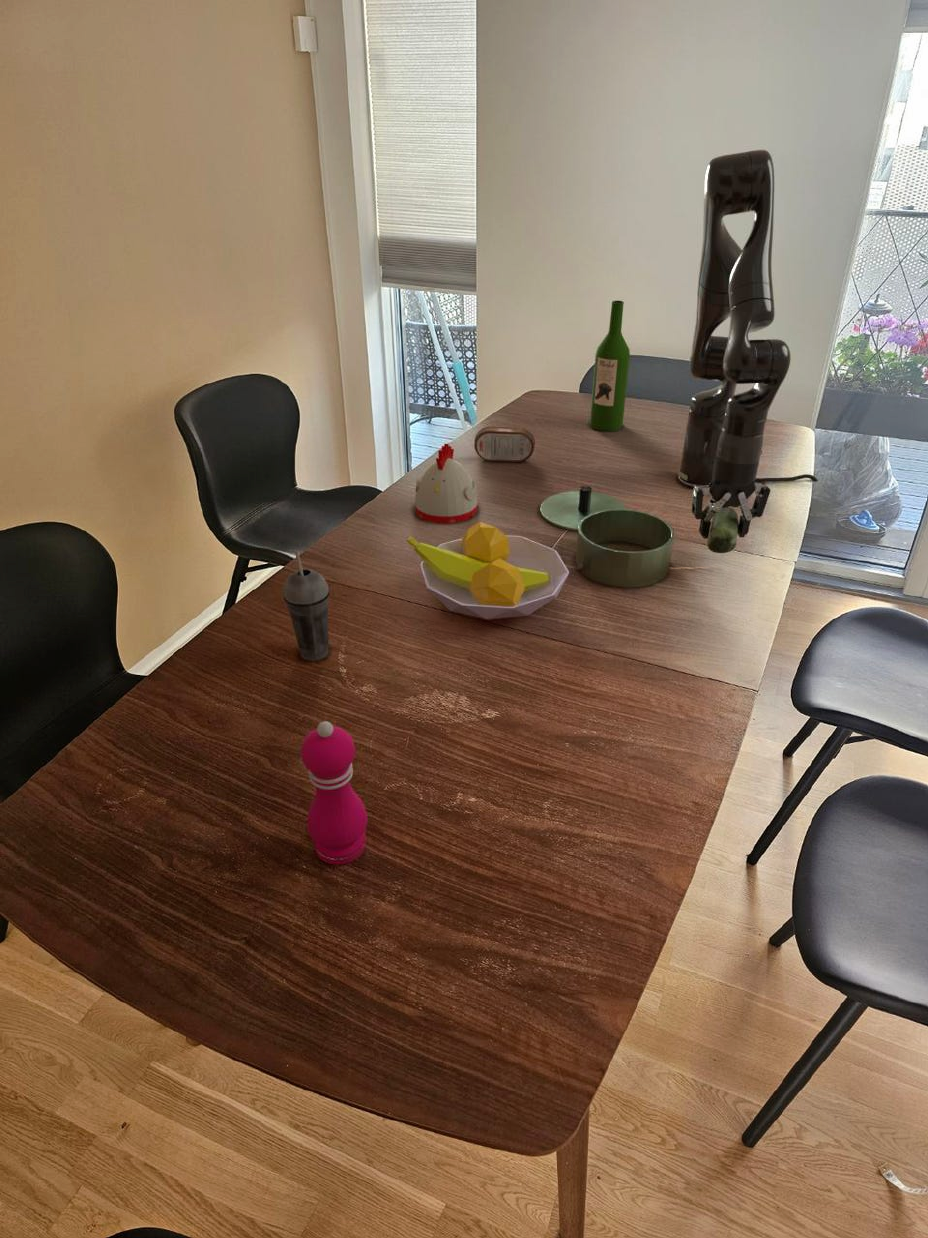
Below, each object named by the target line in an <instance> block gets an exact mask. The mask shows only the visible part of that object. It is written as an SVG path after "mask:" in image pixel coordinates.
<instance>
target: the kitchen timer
mask: <svg viewBox="0 0 928 1238" xmlns="http://www.w3.org/2000/svg"><path fill="white" fill-rule="evenodd" d="M454 452H455V449H454V448H452V445H450V444H449V443H444V444H443V445H441V449H439V450H438V452H437V454H438V458H437V457H436V458H435V461H434V462H432V463H430V465H428V467H427V468H426V470H425V471H424V472H423V474H422V475H421V478H420V479H419V478H417V479H416V481H415V482H416V484H415V490H414V491H415V496H414V497H415V498H414V512H415V514H416V515H417V517H418V518H421V519H422V520H424V521H426V522H429V523H434V524H435V523H436V524H456V523H457V524H458V523H461V522H465V521H467V520H469V519H471V518H473V515H474V514H475V513H476V512H477V510H478V506H479V505H478V504H479V503H478V496H477V486H476V480H475V479H473V480H472V477H471V476H470V474H469V473H468V471H467V470H466V468H464V466H463V465H462V464H461V463H459V461H457V460H455V459H454Z"/></svg>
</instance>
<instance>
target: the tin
mask: <svg viewBox="0 0 928 1238" xmlns="http://www.w3.org/2000/svg"><path fill="white" fill-rule="evenodd" d="M473 446H474V450H475V453H476V454H477V456H478V457H480V458H481V459H482V460H484V461H487V462H503V463H504V462H508V463H509V462H510V463H522V462H525V461H527V460H528V459H530V457H532V455H533V453H534V451H535V448H536V447H535V446H536V440H535V437H534V435H533V434H532V432H531V431H530V430H528V429H526V428H523V427H512V426H511V427H510V426H509V427H508V426H485V427H483V428H481V429H480V430H478V432H477V433H476V434H475V436H474V445H473Z"/></svg>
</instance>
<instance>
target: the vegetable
mask: <svg viewBox="0 0 928 1238" xmlns="http://www.w3.org/2000/svg"><path fill="white" fill-rule="evenodd" d="M739 520H740V519H739V515H738V512H737V511H736V509H734V508H733V507H731V506H730V507H726V508H721V509H720V510H719V512H718V513H715V515H714V516H713V517H712V519H711V526H710V531H709V536H708V539H706V545H707V548H708V549H709V551H711V552H713V553H715V554H726V553H730V552H732V551H734V549H735V548H736V546H737V543H738V542H737V540H738V534H737V532H738V525H739Z"/></svg>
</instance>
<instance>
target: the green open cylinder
mask: <svg viewBox="0 0 928 1238" xmlns="http://www.w3.org/2000/svg"><path fill="white" fill-rule="evenodd" d="M674 539H675V531H674V529H673V527H672V525H670V524H669V523H668V522H667V521H666V520H664V519H662V517H661V518H660V517H659V516H657V515H654V514H651V513H649V512H645V511H642V510H641V511H640V510H635V509H628V508H627V509H610V510H603V511H598V512H595V513H592V514H590V515H588V516H586V517H584V518H583V519H582V520H581V522H580V523H579V527H578V531H577V539H576V549H575V562H576V565H577V567H578V568H579V569H578V570H579V572H580V573H581V574H582V575H584V576H585V577H586V578H588V579H590V580H591V581H593V582H596V583H598V584H601V585H606V586H609V587H615V588H625V589H626V588H627V589H628V588H629V589H635V588H643V587H648V586H651V585H652V586H653V585H655V584H657V583H659V582H661V581H662V580H664V579H665V577H667V575H668V573H669V570H670V566H671V559H672V553H673V547H674V541H675V540H674ZM605 542H627V543H633V544H638V545H641V546H644V547H647V548H649V549H647V550H641V551H627V550H617V549H613V548H608V547H604V546H602V545H600V544H599V543H605Z"/></svg>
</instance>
